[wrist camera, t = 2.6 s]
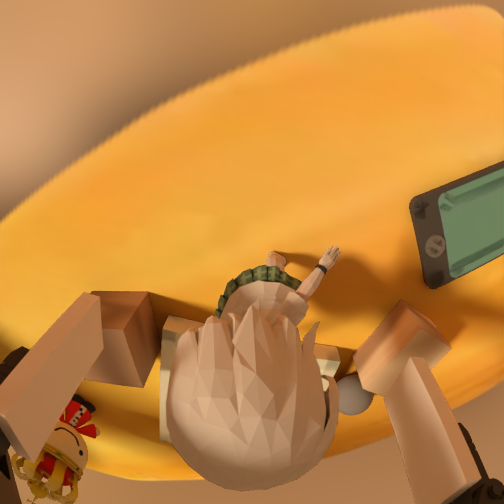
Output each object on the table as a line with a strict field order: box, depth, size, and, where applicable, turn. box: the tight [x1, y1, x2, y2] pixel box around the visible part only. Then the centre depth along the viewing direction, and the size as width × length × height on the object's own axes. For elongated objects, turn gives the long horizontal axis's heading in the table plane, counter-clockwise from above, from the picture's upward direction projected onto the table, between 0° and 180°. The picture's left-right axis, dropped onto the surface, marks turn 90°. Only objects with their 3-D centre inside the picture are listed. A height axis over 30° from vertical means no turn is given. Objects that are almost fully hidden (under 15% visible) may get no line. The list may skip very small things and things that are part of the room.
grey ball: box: [337, 375, 374, 415], centre depth 23 cm, size 4×4×4 cm
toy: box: [11, 394, 100, 504], centre depth 21 cm, size 7×7×15 cm
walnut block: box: [84, 291, 161, 388], centre depth 21 cm, size 5×5×5 cm
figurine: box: [166, 246, 341, 491], centre depth 14 cm, size 10×6×15 cm, turn 136°
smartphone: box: [409, 161, 504, 289], centre depth 18 cm, size 7×1×15 cm
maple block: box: [352, 300, 451, 397], centre depth 21 cm, size 4×6×4 cm, turn 149°
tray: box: [160, 315, 341, 443], centre depth 25 cm, size 13×15×2 cm
